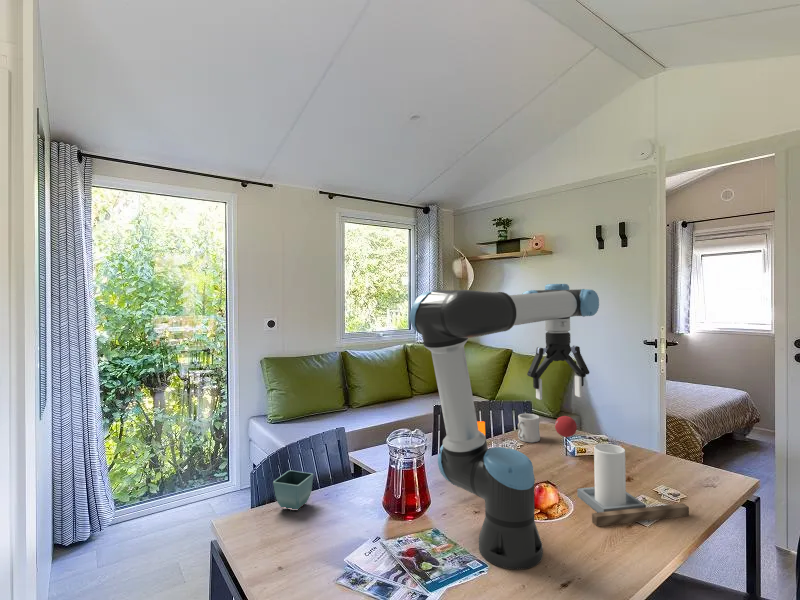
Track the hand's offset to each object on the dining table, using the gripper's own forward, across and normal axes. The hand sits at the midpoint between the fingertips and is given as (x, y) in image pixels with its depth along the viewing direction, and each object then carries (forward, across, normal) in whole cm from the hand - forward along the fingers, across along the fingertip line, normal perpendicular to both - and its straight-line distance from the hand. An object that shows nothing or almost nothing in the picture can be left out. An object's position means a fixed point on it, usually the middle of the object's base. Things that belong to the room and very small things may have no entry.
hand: (558, 397), depth 140 cm
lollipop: (+29, +16, +24) cm, 41 cm away
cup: (+28, +8, -14) cm, 33 cm away
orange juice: (+29, -26, +10) cm, 40 cm away
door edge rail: (+29, +11, -23) cm, 38 cm away
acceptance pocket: (+29, +8, -14) cm, 33 cm away
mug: (+29, +9, +43) cm, 53 cm away
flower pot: (+29, -84, +3) cm, 89 cm away
